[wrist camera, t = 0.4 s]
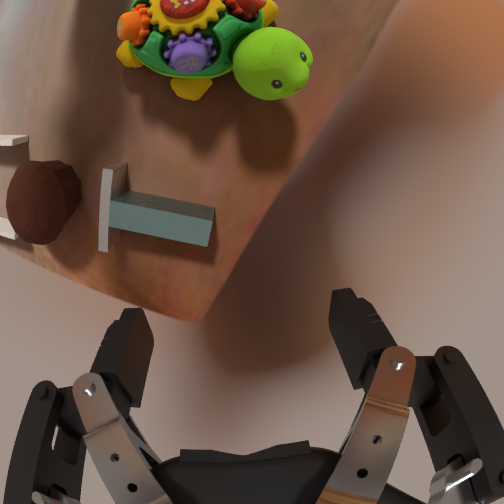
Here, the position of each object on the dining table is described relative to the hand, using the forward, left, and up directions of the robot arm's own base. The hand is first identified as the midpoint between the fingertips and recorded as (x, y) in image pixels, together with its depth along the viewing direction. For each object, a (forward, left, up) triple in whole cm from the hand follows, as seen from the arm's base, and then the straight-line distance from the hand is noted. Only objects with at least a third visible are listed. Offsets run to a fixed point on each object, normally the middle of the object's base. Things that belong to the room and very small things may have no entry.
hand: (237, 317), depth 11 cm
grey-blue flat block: (-2, -11, -26) cm, 28 cm away
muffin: (-14, -22, -26) cm, 37 cm away
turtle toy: (-17, +7, -26) cm, 32 cm away
